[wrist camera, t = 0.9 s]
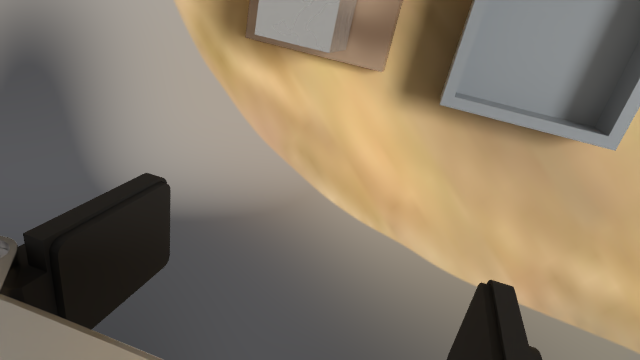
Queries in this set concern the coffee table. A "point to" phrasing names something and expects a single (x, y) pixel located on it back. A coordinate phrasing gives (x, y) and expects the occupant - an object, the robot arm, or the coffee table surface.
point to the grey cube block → (307, 22)
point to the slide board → (351, 34)
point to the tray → (550, 66)
